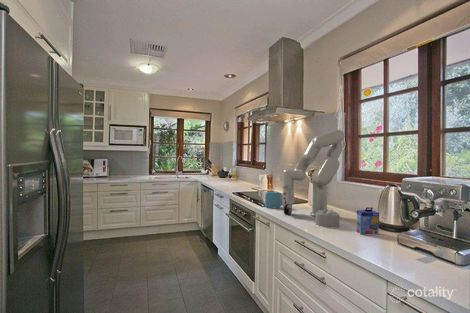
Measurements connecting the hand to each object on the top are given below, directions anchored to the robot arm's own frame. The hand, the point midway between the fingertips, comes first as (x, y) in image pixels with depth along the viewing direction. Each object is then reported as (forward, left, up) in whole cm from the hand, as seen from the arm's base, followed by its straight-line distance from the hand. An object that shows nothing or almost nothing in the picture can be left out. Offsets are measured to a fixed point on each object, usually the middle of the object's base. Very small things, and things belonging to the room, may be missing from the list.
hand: (287, 213), depth 167 cm
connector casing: (0, 0, -1) cm, 1 cm away
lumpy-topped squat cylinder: (-29, +7, -1) cm, 30 cm away
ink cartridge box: (-51, +8, -1) cm, 52 cm away
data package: (+19, -12, -1) cm, 23 cm away
